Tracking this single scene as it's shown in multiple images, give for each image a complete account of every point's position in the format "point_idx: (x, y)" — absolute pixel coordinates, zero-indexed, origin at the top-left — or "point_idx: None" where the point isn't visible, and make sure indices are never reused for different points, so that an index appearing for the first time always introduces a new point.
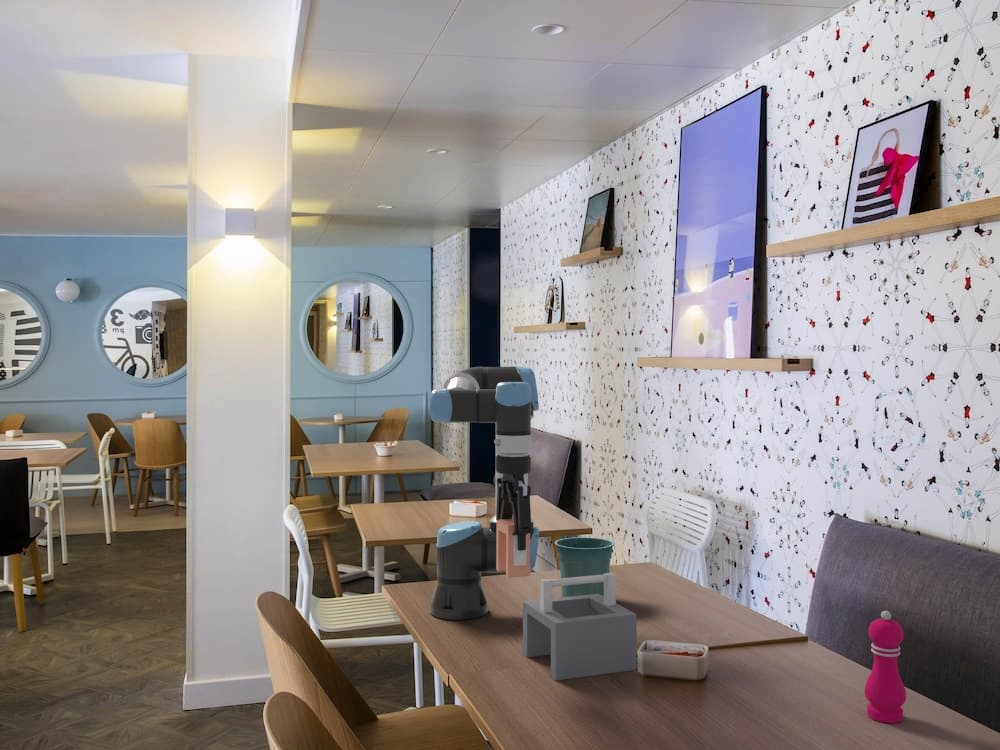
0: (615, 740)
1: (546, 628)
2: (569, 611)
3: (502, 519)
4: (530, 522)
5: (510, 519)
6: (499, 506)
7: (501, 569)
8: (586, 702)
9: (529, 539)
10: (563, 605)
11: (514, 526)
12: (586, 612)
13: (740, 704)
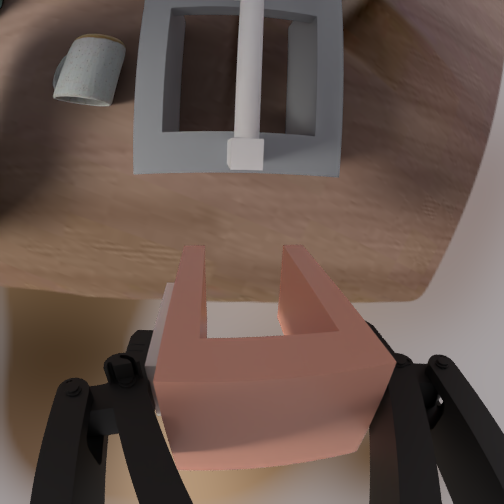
0: (466, 200)
1: (172, 123)
2: (170, 63)
3: (175, 452)
4: (470, 389)
5: (188, 427)
6: (100, 501)
7: (206, 312)
8: (389, 169)
9: (355, 313)
10: (166, 74)
11: (369, 428)
12: (174, 27)
13: (443, 24)
